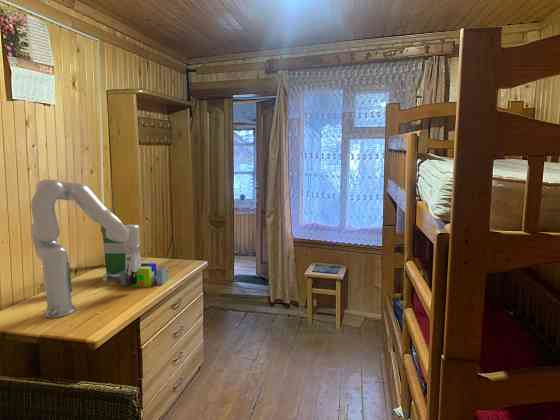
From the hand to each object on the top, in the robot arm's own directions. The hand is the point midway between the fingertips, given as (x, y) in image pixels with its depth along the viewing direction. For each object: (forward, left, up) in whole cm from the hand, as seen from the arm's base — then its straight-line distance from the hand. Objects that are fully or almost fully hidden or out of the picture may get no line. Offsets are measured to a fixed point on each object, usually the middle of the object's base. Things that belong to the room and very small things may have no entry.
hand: (133, 284), depth 196 cm
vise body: (+16, +3, -5) cm, 17 cm away
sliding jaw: (+15, +14, -4) cm, 21 cm away
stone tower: (+54, +32, -5) cm, 63 cm away
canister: (+1, +37, -5) cm, 37 cm away
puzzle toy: (+14, -1, -5) cm, 15 cm away
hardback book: (+28, +15, -5) cm, 32 cm away
